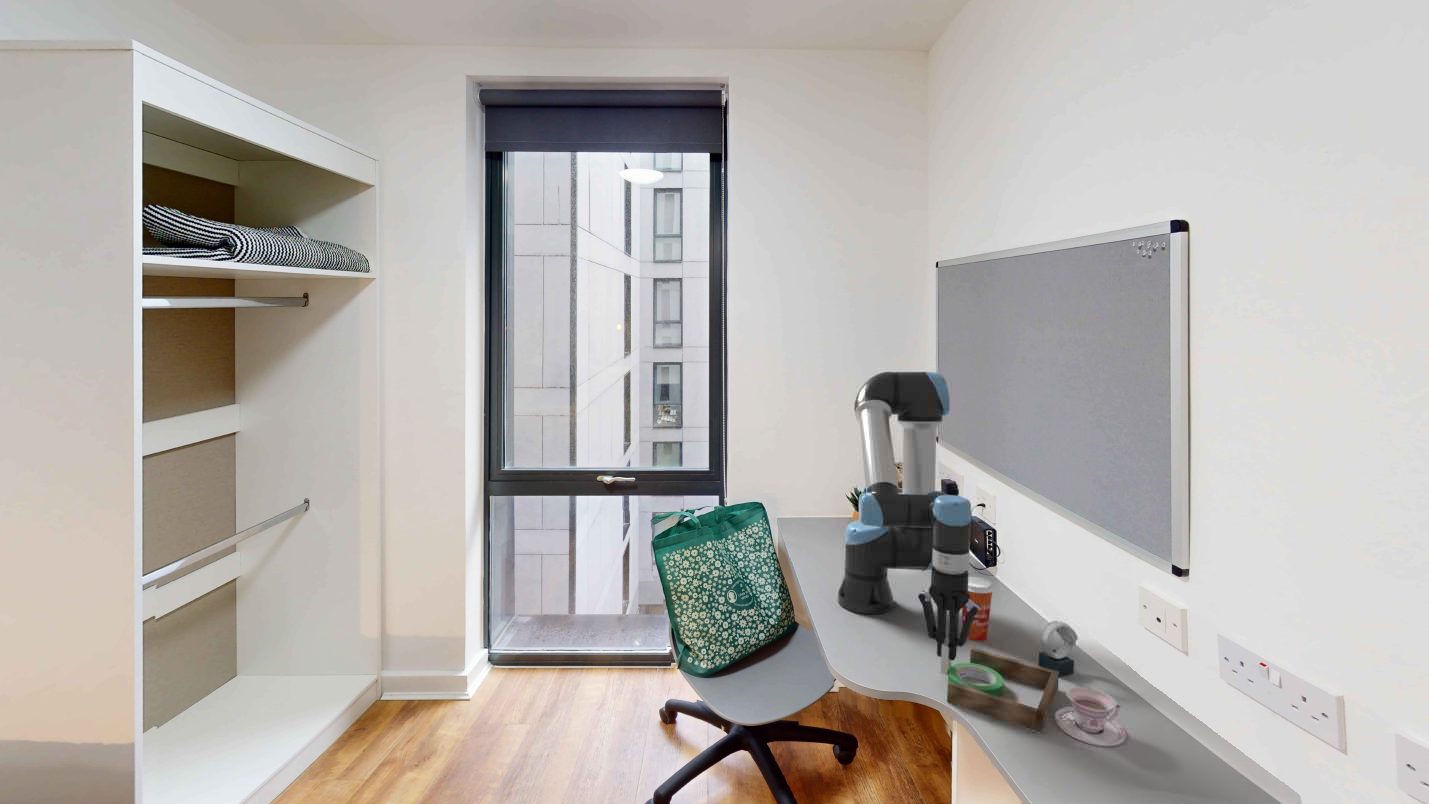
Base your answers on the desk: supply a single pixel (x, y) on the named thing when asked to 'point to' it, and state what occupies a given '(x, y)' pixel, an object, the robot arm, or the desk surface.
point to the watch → (1059, 658)
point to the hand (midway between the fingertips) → (945, 671)
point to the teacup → (1091, 717)
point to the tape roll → (977, 672)
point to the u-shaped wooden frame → (1005, 707)
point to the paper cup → (980, 595)
